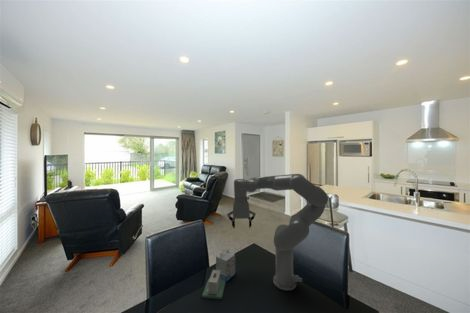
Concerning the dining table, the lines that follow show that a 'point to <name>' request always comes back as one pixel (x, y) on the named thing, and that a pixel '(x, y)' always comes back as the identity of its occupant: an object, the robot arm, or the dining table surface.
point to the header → (219, 293)
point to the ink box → (226, 264)
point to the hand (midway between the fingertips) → (241, 227)
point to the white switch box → (214, 282)
